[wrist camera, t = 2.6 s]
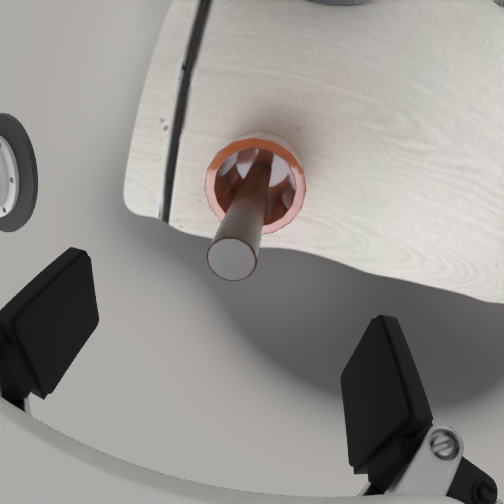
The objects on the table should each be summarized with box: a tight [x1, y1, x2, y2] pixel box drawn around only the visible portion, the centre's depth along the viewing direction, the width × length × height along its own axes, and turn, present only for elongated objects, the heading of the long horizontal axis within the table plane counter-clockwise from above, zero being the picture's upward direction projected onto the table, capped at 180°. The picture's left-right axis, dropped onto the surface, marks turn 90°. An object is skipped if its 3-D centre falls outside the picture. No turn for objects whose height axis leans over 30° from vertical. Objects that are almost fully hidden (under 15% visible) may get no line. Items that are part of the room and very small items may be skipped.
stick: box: [207, 162, 271, 281], centre depth 21 cm, size 2×2×18 cm
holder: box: [205, 132, 306, 234], centre depth 27 cm, size 8×8×7 cm
